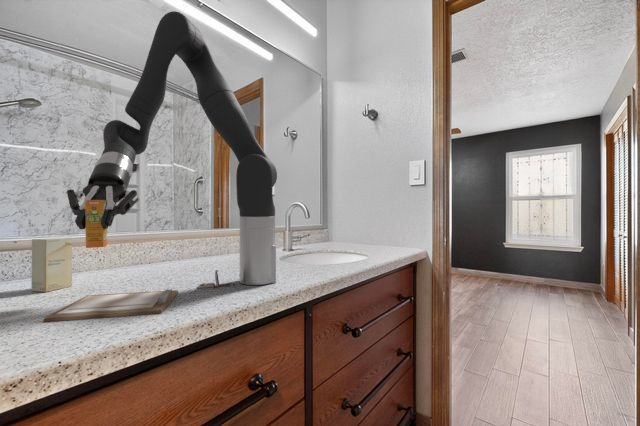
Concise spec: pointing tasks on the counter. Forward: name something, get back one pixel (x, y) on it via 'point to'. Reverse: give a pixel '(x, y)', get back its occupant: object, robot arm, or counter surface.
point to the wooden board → (115, 305)
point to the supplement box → (95, 223)
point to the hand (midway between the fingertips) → (92, 226)
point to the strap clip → (212, 285)
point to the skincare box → (51, 264)
